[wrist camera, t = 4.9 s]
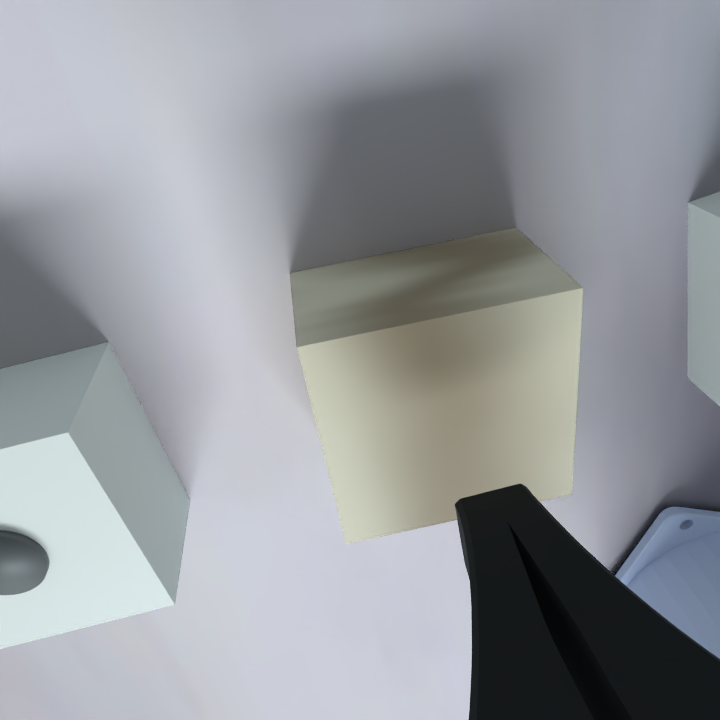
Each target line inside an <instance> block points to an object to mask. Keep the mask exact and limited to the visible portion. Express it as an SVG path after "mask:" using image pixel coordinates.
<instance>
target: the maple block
mask: <svg viewBox="0 0 720 720" xmlns="http://www.w3.org/2000/svg"><path fill="white" fill-rule="evenodd" d="M290 282H291V292H292V303H293V313H294V324H295V334H296V345H297V350H298V354H299V358H300V362H301V366H302V370H303V374H304V378H305V382H306V386H307V390H308V394H309V398H310V402H311V406H312V410H313V414H314V418H315V422H316V426H317V430H318V434H319V438H320V442H321V446H322V450H323V454H324V458H325V462H326V466H327V470H328V474H329V478H330V482H331V486H332V490H333V494H334V498H335V502H336V505H337V509H338V513H339V517H340V521H341V525H342V529H343V533H344V537H345V541H346V544H349V543H354V542H358V541H363V540H367V539H372V538H376V537H381V536H386V535H390V534H395V533H399V532H404V531H408V530H413V529H417V528H422V527H427V526H431V525H436V524H440V523H445V522H449V521H454V520H457V515H456V509H455V503H456V502H457V501H458V500H459V499H461V498H465V497H469V496H473V495H476V494H480V493H484V492H488V491H492V490H496V489H500V488H504V487H508V486H512V485H516V484H520V483H521V484H523V485H524V486H526V487H527V488H528V489H529V490H530V492H531V493H532V494H533V495H534V496H535V497H536V499H537V500H538V501H539V502H540V501H545V500H549V499H554V498H558V497H563V496H568V495H572V484H573V466H574V448H575V430H576V412H577V394H578V376H579V358H580V340H581V321H582V303H583V287H582V286H581V285H580V284H578V283H577V282H576V281H575V280H574V279H573V278H572V277H571V276H570V275H568V274H567V273H566V272H565V271H564V270H563V269H562V268H561V267H560V266H558V265H557V264H556V263H555V262H554V261H553V260H552V259H551V258H550V257H548V256H547V255H546V254H545V253H544V252H543V251H542V250H541V249H540V248H538V247H537V246H536V245H535V244H534V243H533V242H532V241H531V240H530V239H529V238H527V237H526V236H525V235H524V234H523V233H522V232H521V231H520V230H519V229H517V228H511V229H506V230H501V231H496V232H491V233H486V234H481V235H476V236H471V237H466V238H461V239H456V240H451V241H446V242H441V243H436V244H431V245H426V246H421V247H416V248H412V249H407V250H402V251H397V252H392V253H387V254H382V255H377V256H372V257H367V258H362V259H357V260H352V261H347V262H342V263H337V264H332V265H327V266H322V267H317V268H312V269H307V270H302V271H297V272H292V273H290Z"/></svg>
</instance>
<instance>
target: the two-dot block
mask: <svg viewBox="0 0 720 720" xmlns="http://www.w3.org/2000/svg"><path fill="white" fill-rule="evenodd" d="M687 378H688V379H689V380H690V381H692V382H693V383H694V384H695V385H696V386H697V387H698V388H699V389H701V390H702V391H703V392H704V393H705V394H706V395H707V396H708V397H710V398H711V399H712V400H713V401H714V402H715V403H716V404H717V405H718V406H720V192H717V193H714V194H711V195H708V196H705V197H702V198H700V199H697V200H694V201H691V202H688V334H687Z"/></svg>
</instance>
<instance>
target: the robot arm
mask: <svg viewBox="0 0 720 720" xmlns="http://www.w3.org/2000/svg"><path fill="white" fill-rule="evenodd" d="M455 509H456V515H457V520H458V526H459V532H460V538H461V543H462V549H463V555H464V561H465V565H466V569H467V572H468V575H469V579H470V589H471V605H472V673H471V694H470V712H469V720H720V512H716V511H708V510H700V509H692V508H684V507H669V508H666V509H665V510H663V511H662V512H661V513H660V514H659V515H658V517H657V518H656V519H655V521H654V522H653V524H652V525H651V526H650V528H649V529H648V531H647V532H646V533H645V535H644V536H643V538H642V539H641V540H640V542H639V543H638V544H637V546H636V547H635V549H634V550H633V551H632V553H631V554H630V556H629V557H628V558H627V560H626V561H625V563H624V564H623V565H622V567H621V568H620V569H619V571H618V572H617V574H616V575H615V576H614V575H613V574H612V573H611V572H610V571H609V570H608V569H607V568H605V567H604V566H603V565H602V564H601V563H600V562H599V561H598V560H597V559H596V558H595V557H594V556H593V555H591V554H590V553H589V552H588V551H587V550H586V549H585V548H584V547H583V546H582V545H581V544H580V543H579V542H578V541H577V540H576V539H575V538H574V537H573V536H572V535H571V534H570V533H569V532H568V531H567V530H566V529H565V528H564V527H563V526H562V525H561V524H560V523H559V522H558V521H557V520H556V519H555V518H554V517H553V516H552V515H551V514H550V513H549V512H548V511H547V510H546V508H545V507H544V506H543V505H542V504H541V503H540V502H539V501H538V500H537V499H536V497H535V496H534V495H533V494H532V493H531V492H530V490H529V489H528V488H527V487H526V486H524V485H523V484H521V483H520V484H516V485H512V486H508V487H504V488H500V489H496V490H492V491H488V492H484V493H480V494H476V495H473V496H469V497H465V498H461V499H459V500H458V501H457V502H456V503H455Z"/></svg>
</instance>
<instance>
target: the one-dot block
mask: <svg viewBox="0 0 720 720" xmlns="http://www.w3.org/2000/svg"><path fill="white" fill-rule="evenodd" d="M189 505H190V499H189V497H188V495H187V493H186V491H185V489H184V487H183V485H182V483H181V481H180V479H179V477H178V475H177V473H176V472H175V470H174V468H173V466H172V464H171V462H170V460H169V458H168V456H167V454H166V452H165V450H164V448H163V446H162V444H161V442H160V440H159V438H158V437H157V435H156V433H155V431H154V429H153V427H152V425H151V423H150V421H149V419H148V417H147V415H146V413H145V411H144V409H143V407H142V405H141V403H140V402H139V400H138V398H137V396H136V394H135V392H134V390H133V388H132V386H131V384H130V382H129V380H128V378H127V376H126V374H125V372H124V370H123V368H122V367H121V365H120V363H119V361H118V359H117V357H116V355H115V353H114V351H113V349H112V347H111V345H110V343H109V342H107V343H103V344H99V345H94V346H90V347H86V348H82V349H78V350H74V351H70V352H66V353H62V354H58V355H54V356H50V357H46V358H42V359H38V360H34V361H30V362H26V363H22V364H18V365H14V366H10V367H6V368H2V369H0V649H2V648H6V647H10V646H14V645H18V644H22V643H26V642H30V641H34V640H38V639H42V638H46V637H50V636H54V635H58V634H61V633H65V632H69V631H73V630H77V629H81V628H85V627H89V626H93V625H97V624H101V623H105V622H109V621H113V620H117V619H121V618H124V617H128V616H132V615H136V614H140V613H144V612H148V611H152V610H156V609H160V608H164V607H168V606H172V605H175V601H176V594H177V587H178V580H179V573H180V567H181V560H182V553H183V546H184V539H185V533H186V526H187V519H188V512H189Z"/></svg>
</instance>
